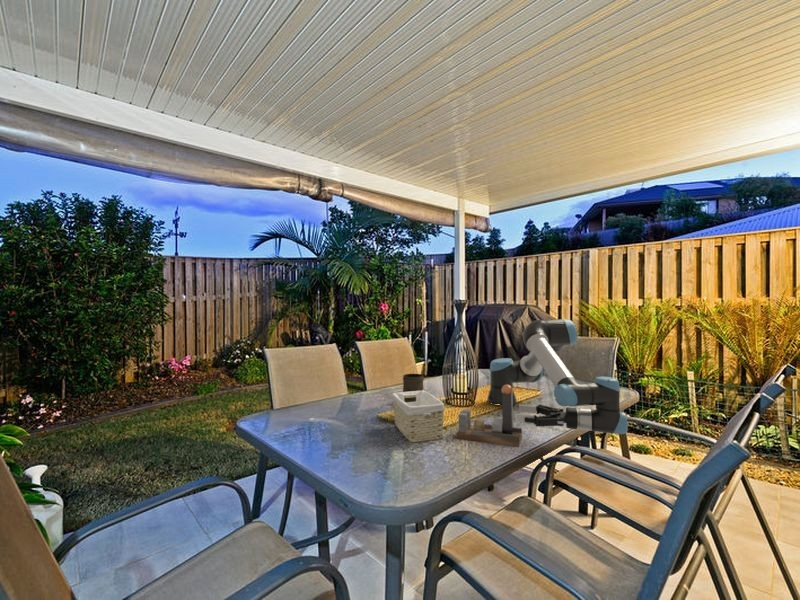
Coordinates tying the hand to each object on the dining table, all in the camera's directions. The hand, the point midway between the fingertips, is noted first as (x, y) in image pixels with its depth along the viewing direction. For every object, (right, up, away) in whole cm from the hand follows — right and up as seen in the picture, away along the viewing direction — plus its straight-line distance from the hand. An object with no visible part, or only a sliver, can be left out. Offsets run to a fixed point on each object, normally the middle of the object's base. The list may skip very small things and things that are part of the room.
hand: (517, 412), depth 145 cm
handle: (-5, -9, +3) cm, 11 cm away
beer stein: (-38, -12, +37) cm, 55 cm away
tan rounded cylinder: (-13, -9, +7) cm, 18 cm away
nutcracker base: (-10, -11, +5) cm, 16 cm away
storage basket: (-38, -12, +12) cm, 42 cm away
